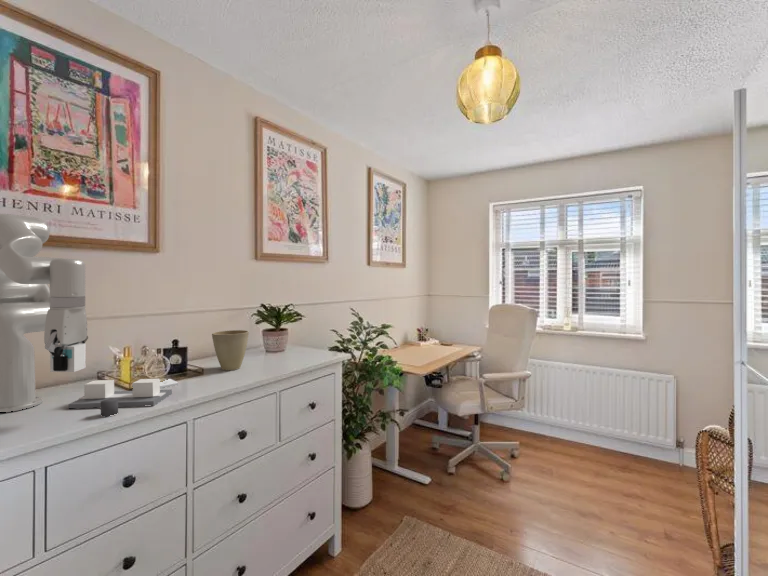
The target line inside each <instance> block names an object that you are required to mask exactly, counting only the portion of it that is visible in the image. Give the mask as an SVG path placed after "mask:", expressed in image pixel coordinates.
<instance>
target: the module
mask: <svg viewBox="0 0 768 576" xmlns="http://www.w3.org/2000/svg"><path fill="white" fill-rule="evenodd" d="M58 345H61V344H60V343H59V344H58ZM86 347H87V344H86V343H85V344H69V345H67V350H66V355H65V356H68V369H67V370H66V371H54V370H53V357H52V356H51V353H50V352H49V354H50V356H49V357H50V361H49V362H50V363H49V364H50V369H49V370H50V373H75V372H78V371H80V370H83V369H86V364H87V363H86V361H87V360H86V359H87V353H86V351H87V350H86V349H87V348H86ZM58 348H59V349H60V350H61V348H62V347H58Z"/></svg>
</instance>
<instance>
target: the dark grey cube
mask: <svg viewBox="0 0 768 576" xmlns="http://www.w3.org/2000/svg"><path fill="white" fill-rule="evenodd" d="M117 413H118V414H119V407H118V399H107V400H103V401H101V408H100V416H101V415H102V416H110V415H114V414H117ZM118 414H117V415H118ZM114 416H115V415H114ZM110 417H111V416H110Z"/></svg>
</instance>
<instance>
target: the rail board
mask: <svg viewBox="0 0 768 576" xmlns="http://www.w3.org/2000/svg"><path fill="white" fill-rule="evenodd" d="M160 381H161V378H139V379H138V380H136V381H133V382H132V386H131V388H132V387H133V389H132V390H119V391H118V390H117V391H115V380H114V379H102V380H101V379H99V380H98V379H97V380H92V381H90V382H87V383H84V385H83V386H84V389H83V393H84V395H83V396H82V397H79V398H78V399H77V400H75V401H72V402H70V403H68V406H67V407H68V409H69V408H85V409H93V408H92V407H101V401H103V400H107V399H118V408H132V407H133V406H141V407H146V406H145V405H154V406H156V405H158V404H159V403H161V402H162V401H163V400H165V399H166V397H167V398H168V397H169V395H170V396H171V395H172V394H173V393H172V392H173V390H172V389H160ZM161 400H162V401H161ZM158 402H159V403H158ZM155 404H156V405H155ZM133 408H134V407H133Z"/></svg>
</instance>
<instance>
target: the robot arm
mask: <svg viewBox="0 0 768 576" xmlns="http://www.w3.org/2000/svg"><path fill="white" fill-rule="evenodd" d="M49 238H50V227H49V225H48V224H47V223H46V222H45V221H44V220H42V219H40V218H37V217H33V216H25V215H18V214H17V215H16V214H12V213H11V214H9V213H0V412H6V413H12V412H11V411H13V412H18V411H22V409H23V410H26V408H27V409H30V408H33V406H34V407H35V406H38V405H40V404H42V403H43V398H42V397H41V396H37V395H36V360H35V358H36V357H35V347H34V344H33V343H32V341H30V339H28V338H27V337H26V336H25V335H26V334H29V333H31V334H32V333H38V332H39V333H40V332H43V333H44V336H43V339H44V340H43V343H44V349H46V350H47V351H48V352H49V354H50V353H51V356H52V357H53V370H54V371H66V370H67V369H68V356H65V355H66V350H67V345H69V344H86V342H87V341H88V340H89V336H88V317H87V311H86V263H85V261H84V260H82V259H78V258H63V257H62V258H61V257H46V256H45V257H42V256H37V255H38V254H39V253H40V252H41V251H42V249H43V244H45V243H46V242H47V241H48V240H49ZM58 344H61V345H58ZM58 347H62V348H61V350H60V349H59V348H58ZM41 402H42V403H41Z"/></svg>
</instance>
